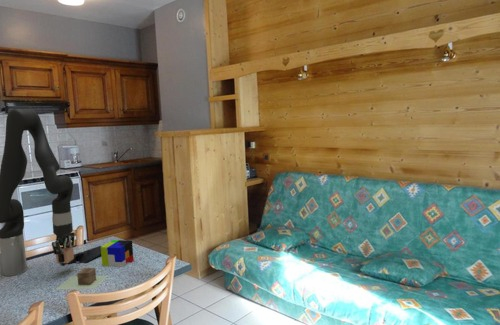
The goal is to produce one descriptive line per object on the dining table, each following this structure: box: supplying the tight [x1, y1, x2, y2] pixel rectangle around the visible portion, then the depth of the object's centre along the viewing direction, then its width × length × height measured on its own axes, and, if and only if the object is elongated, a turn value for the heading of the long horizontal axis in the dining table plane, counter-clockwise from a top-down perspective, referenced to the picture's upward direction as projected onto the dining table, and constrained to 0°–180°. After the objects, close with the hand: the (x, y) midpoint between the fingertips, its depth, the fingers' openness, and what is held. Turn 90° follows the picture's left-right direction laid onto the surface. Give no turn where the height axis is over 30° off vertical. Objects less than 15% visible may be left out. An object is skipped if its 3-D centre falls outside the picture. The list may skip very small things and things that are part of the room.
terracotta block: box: [55, 247, 75, 264], centre depth 156 cm, size 5×5×5 cm
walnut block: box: [76, 267, 97, 285], centre depth 146 cm, size 5×5×5 cm
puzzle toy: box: [100, 239, 135, 267], centre depth 166 cm, size 10×10×10 cm
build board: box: [55, 275, 108, 291], centre depth 146 cm, size 16×12×1 cm
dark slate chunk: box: [58, 245, 103, 267], centre depth 176 cm, size 15×22×5 cm
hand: (65, 259), depth 156 cm, fingers closed on terracotta block, 5 cm apart
